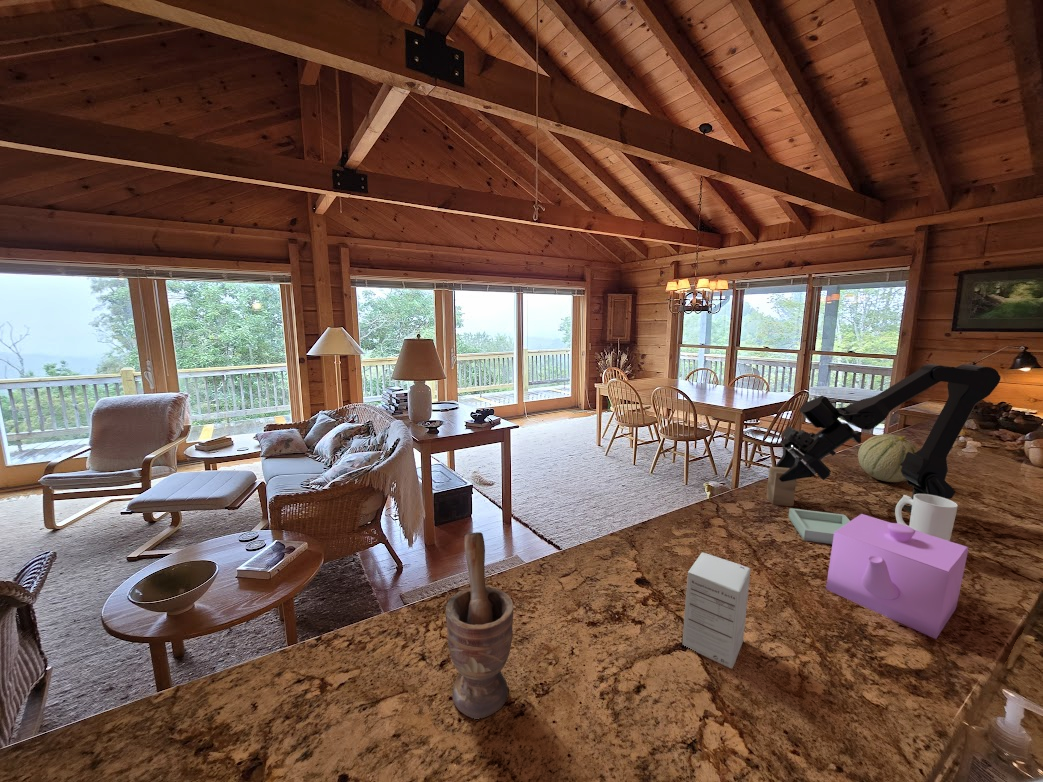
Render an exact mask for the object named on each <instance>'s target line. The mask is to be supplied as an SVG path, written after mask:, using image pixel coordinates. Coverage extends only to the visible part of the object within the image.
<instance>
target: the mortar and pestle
mask: <svg viewBox="0 0 1043 782" xmlns="http://www.w3.org/2000/svg"><path fill="white" fill-rule="evenodd" d="M463 543H464V553H465V559H466V566H467V572H468V577H469V586H470V587H467V588H464V589H462V590H460V591H458V592H457V593H455V594H454V595H453V596H452V597H450V598H449V600H448V602H447V603H446V606H445V615H446V631H447V632H446V633H447V636H446V637H447V645H448V650H449V656H450V658H451V660H452V663H453V666H454V668H455V670H456V671H457V672H458V673H459V674H458V676H457V677H456V679H455V681H454V684H453V688H452V692H451V693H452V695H451V696H452V702H453V704H454V706H455V707H456V709H457V710H458V711H459V712H461V713H462V714H463V715H465V716H466V717H469V718H471V719H473V718H474V719H473V720H475V719H478V718H481V719H484V718H487V717H489V716H491V715H493V714H494V713H497V711H499V710H501V709H502V707H504V706H505V704H506V703H507V700H508V698H507V696H509V689H508V688H509V687H508V683H507V680H506V678H505V676H504V675H503V674H502V670H503V668H505V665H506V664H507V661H508V658H509V654H510V652H511V649H512V648H511V647H512V642H513V632H514V631H513V629H514V628H513V622H514V603H513V600H512V599H511V597H510V595H508V593H507V592H505V591H502V590H501V589H499V588H496V587H491V586H486V578H485V576H486V575H485V569H486V568H485V562H486V559H485V558H486V547H485V545H486V544H485V539H484V533H482V532H480V531H479V532H470V533H466V534H465V535H464V541H463ZM505 702H506V703H505Z"/></svg>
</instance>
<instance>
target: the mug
mask: <svg viewBox="0 0 1043 782" xmlns="http://www.w3.org/2000/svg"><path fill="white" fill-rule="evenodd" d="M907 504H909V505H912V510H911V513H910V517H909V518H910V519H909V525H908V524H907V523H906V522H905V521H904V519H903V515H902V509H903V508H904V507H903V506H904V505H907ZM958 505H959V504H957V503H956V502H955V501H953V500H952V499H947V498H942V497H939V496H934V495H929V494H915V495H914V498H913V499H912V496H908V495H907V494H903V495H902V497H901V498H900V500H899V501H898V502H897V504H896V506H895V509H894V512H895V513H894V515H895V519H896V523H898V524H903V525H906V526H908V527H910V528H912V529H914V530H917V531H919V532H922V533H925V534H928V535H931V536H935V537H938V538H941V539H944V540H947V541H950V542H951V537H952V533H953V529H954V524H955V519H956V515H957V511H958Z"/></svg>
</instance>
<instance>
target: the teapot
mask: <svg viewBox="0 0 1043 782" xmlns="http://www.w3.org/2000/svg"><path fill="white" fill-rule="evenodd" d="M906 525H907V524H906ZM906 525H903V524H898V523H897V522H889V521H886V520H882V519H879V518H876V517H874V516H871V515H867V514H863V513H860V514H859V515H858V516H856V517H854V518H852V519H851V520H850V522H848V523H847V524H846V525H844V526H843V527H841V528H840V529H839V530H837V531H835V532H834V537H833V543H832V544H831V545H832V546H831V552H830V558H829V565H828V572H827V578H826V585H825V590H826V591H828V592H830V593H833V594H835V595H837V596H839V597H842V598H844V599H846V600H848V601H850V602H852V603H856V604H858V605H859V606H862V607H863V608H867V609H868V610H870V611H873V612H875V613H878V614H880V615H882V616H884V617H886V618H888V619H890V620H893V621H895V622H897V623H899V624H900V625H903V626H906V627H907V628H911V629H912V630H914V631H916V632H918V633H921V634H924V635H925V636H928V637H931V638H933V639H934V640H937V638H938V637H939V635H940V634H941V633H942V631H943V629H944V627H946V624H948V622H949V620H950V619H951V617H952V616H953V614H954V613H955V611H956V609H957V606H958V602H959V598H960V597H959V596H960V592H961V591H960V590H961V587H962V582H963V577H964V573H965V568H966V562H967V558H968V553H969V546H966V545H962V544H960V543H956V542H953V541H951V540H950V541H947V540H944V539H941V538H938V537H935V536H931V535H928V534H925V533H922V532H919V531H917V530H914V529H912V528H910V527H908V526H909V525H908V526H906Z"/></svg>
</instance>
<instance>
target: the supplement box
mask: <svg viewBox="0 0 1043 782" xmlns="http://www.w3.org/2000/svg"><path fill="white" fill-rule="evenodd" d="M751 571H752V570H751V568H750V567H748V566H745V565H742V564H740V563H736V562H733V561H730V560H728V559H724V558H720V557H719V556H715V555H713V554H708V553H706V552H703V551H702V552H701V553H700V554H699V556H698V557H697V558H696V560H695V562H694V563H693V564H692V566H691V567H690V569H689V570H688V572H687V579H686V580H687V581H686V582H687V583H686V593H685V605H684V607H685V608H684V618H683V632H682V646H683V645H684V647H685V646H686V648H687V647H688V648H687V649H689V648H690V649H689V650H691V649H692V650H691V651H693V650H694V652H695V651H696V652H695V653H697V654H699V655H701V656H703V657H706V658H708V659H710V660H712V661H714V662H716V663H719V664H721V665H722V666H725V667H727V668H729V669H733V668H734V665H735V664H736V661H737V658H738V656H739V653H740V650H741V648H742V645H743V643H744V640H745V639H744V637H745V628H746V627H745V626H746V619H747V617H746V615H747V609H748V608H747V607H748V601H749V600H748V597H749V591H750V590H749V588H750V578H751Z"/></svg>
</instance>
